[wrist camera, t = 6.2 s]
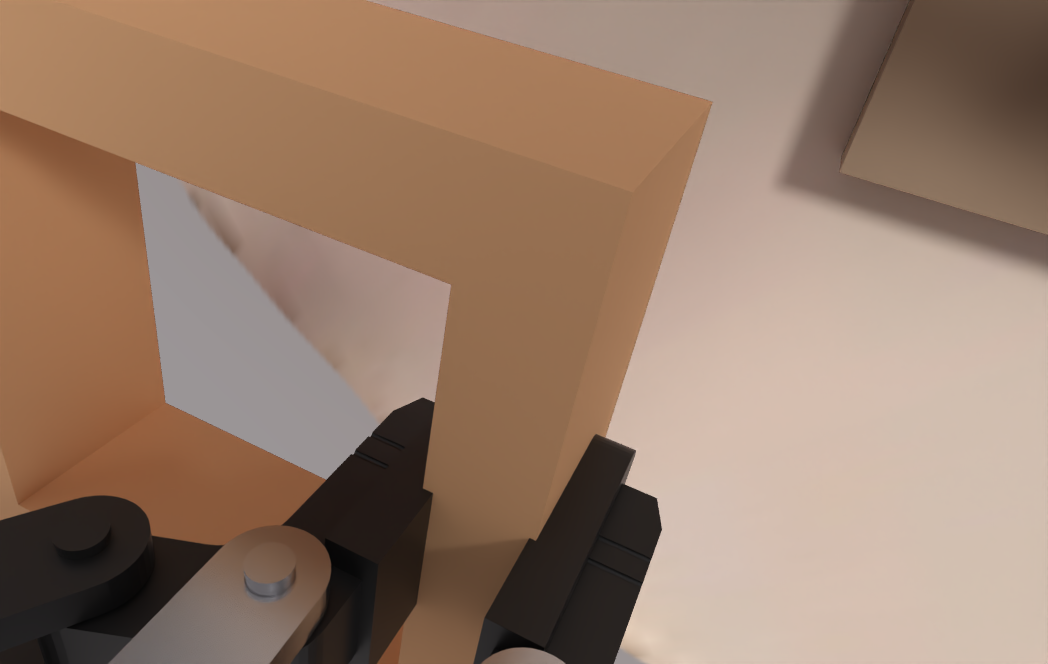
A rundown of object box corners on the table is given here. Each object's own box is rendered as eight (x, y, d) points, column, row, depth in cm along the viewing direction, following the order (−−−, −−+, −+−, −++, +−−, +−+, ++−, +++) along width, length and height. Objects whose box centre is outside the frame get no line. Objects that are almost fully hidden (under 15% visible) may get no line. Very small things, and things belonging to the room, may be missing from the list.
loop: (31, -98, 12) (-243, -97, 9) (712, 101, 9) (632, 192, 6) (121, 426, 18) (-22, 524, 15) (541, 635, 15) (462, 803, 12)
